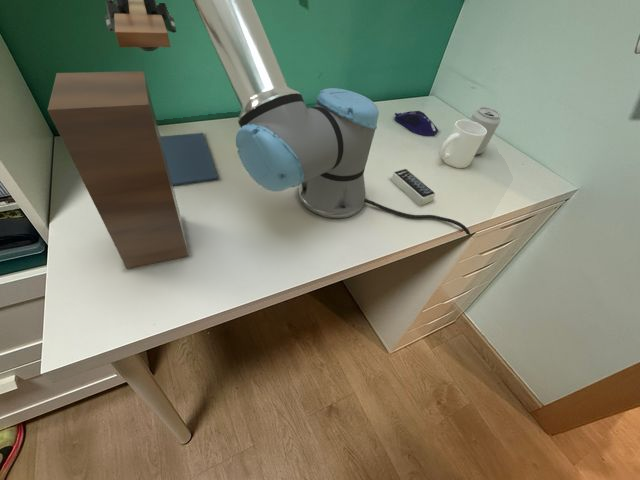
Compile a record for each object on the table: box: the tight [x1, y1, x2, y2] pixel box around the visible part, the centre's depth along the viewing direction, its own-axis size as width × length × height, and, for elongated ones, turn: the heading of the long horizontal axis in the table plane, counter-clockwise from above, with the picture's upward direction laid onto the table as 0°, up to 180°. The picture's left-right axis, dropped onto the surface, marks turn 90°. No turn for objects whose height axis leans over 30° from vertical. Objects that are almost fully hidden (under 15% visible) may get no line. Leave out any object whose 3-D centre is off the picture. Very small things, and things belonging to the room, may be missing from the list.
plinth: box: [47, 70, 190, 270], centre depth 50 cm, size 10×10×28 cm
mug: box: [439, 119, 487, 169], centre depth 89 cm, size 12×8×10 cm
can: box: [470, 106, 502, 156], centre depth 95 cm, size 8×8×12 cm
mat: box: [160, 132, 219, 187], centre depth 78 cm, size 20×12×1 cm, turn 23°
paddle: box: [114, 0, 171, 48], centre depth 55 cm, size 23×7×2 cm, turn 23°
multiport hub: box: [391, 168, 436, 206], centre depth 80 cm, size 4×11×2 cm, turn 31°
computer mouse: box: [394, 110, 439, 137], centre depth 104 cm, size 9×15×4 cm, turn 58°
